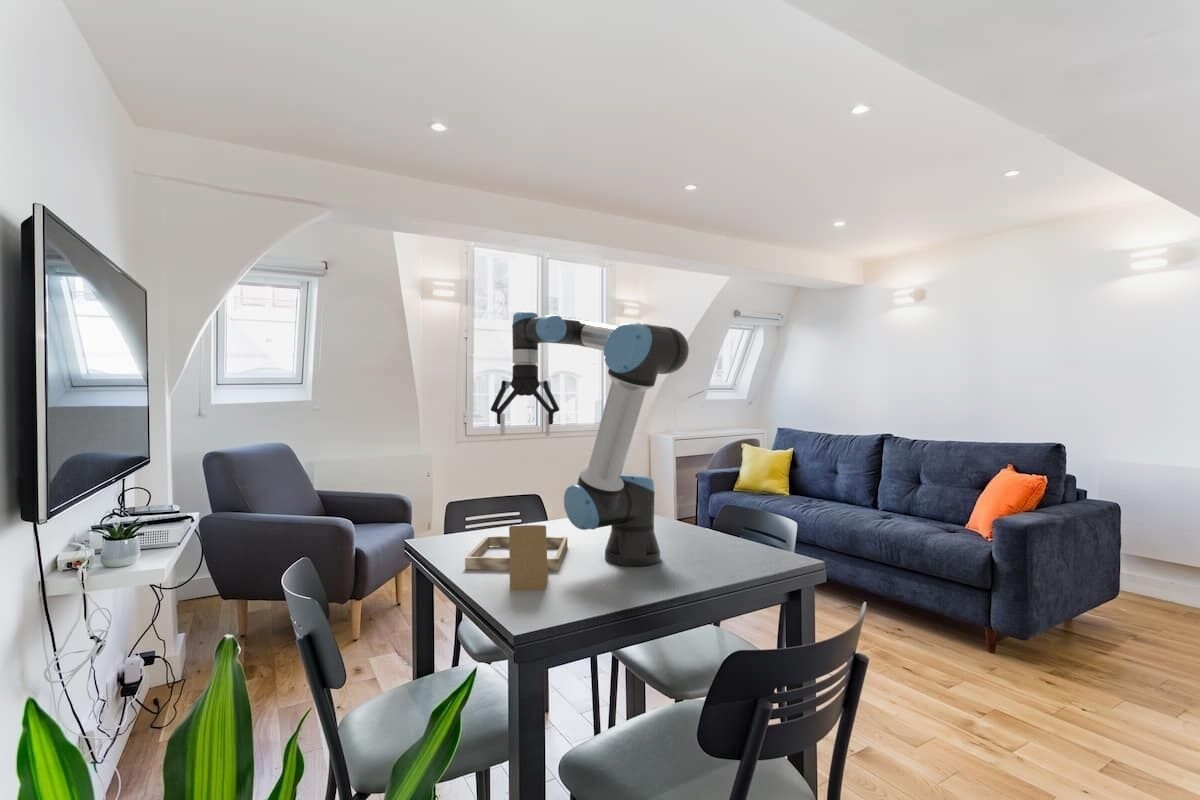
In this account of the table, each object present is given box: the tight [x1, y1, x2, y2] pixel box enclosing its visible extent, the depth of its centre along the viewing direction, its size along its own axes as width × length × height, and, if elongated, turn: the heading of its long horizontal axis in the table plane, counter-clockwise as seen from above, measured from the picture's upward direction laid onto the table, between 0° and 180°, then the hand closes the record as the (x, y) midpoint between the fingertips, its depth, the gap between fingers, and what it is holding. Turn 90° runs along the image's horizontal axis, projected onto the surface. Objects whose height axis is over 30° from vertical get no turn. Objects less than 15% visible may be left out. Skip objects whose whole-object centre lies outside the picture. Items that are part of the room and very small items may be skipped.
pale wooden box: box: [464, 535, 568, 571], centre depth 163 cm, size 24×24×3 cm
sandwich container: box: [508, 524, 549, 592], centre depth 143 cm, size 9×15×15 cm, turn 3°
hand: (525, 435), depth 177 cm, fingers open, 13 cm apart
